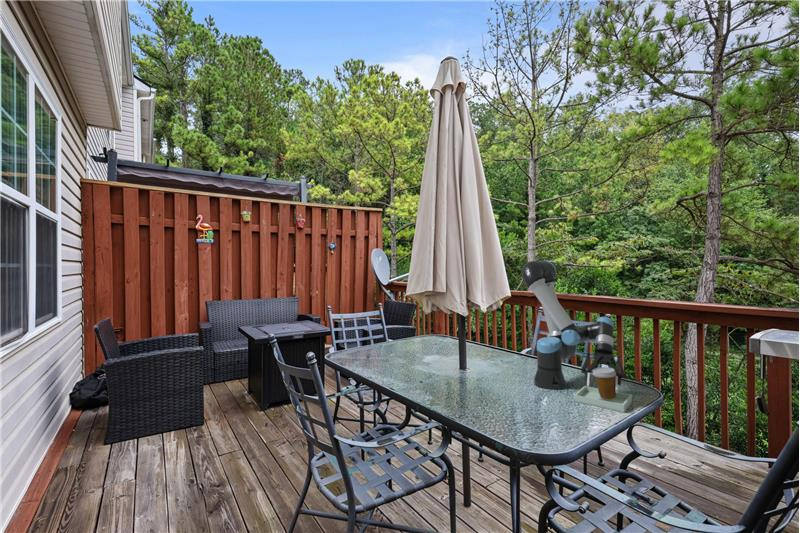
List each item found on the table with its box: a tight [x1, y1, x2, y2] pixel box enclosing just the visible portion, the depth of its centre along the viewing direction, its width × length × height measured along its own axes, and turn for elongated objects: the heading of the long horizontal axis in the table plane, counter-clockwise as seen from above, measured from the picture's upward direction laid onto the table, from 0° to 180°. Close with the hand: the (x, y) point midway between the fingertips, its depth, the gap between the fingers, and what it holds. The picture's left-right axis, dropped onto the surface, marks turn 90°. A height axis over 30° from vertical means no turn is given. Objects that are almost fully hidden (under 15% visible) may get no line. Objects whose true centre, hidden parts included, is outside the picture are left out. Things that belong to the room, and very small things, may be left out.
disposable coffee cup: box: [592, 366, 616, 399], centre depth 173 cm, size 10×10×12 cm
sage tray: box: [573, 385, 633, 413], centre depth 174 cm, size 20×16×3 cm
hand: (602, 389), depth 171 cm, fingers open, 10 cm apart
